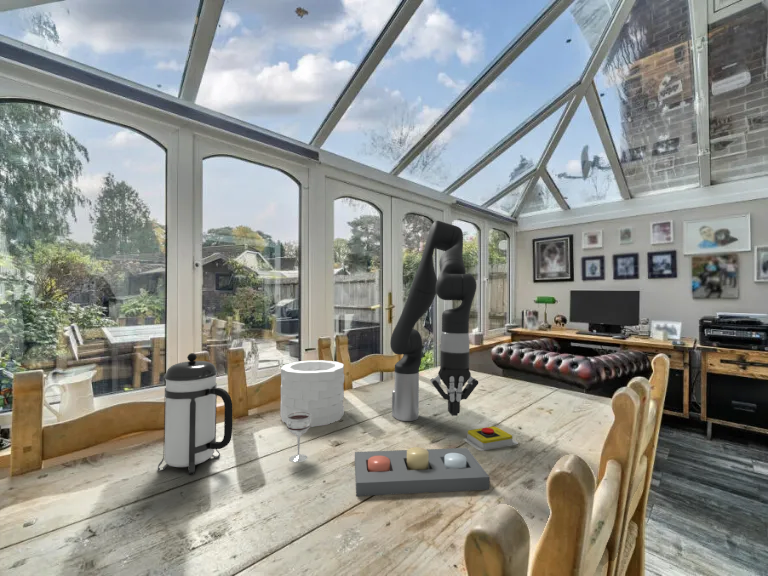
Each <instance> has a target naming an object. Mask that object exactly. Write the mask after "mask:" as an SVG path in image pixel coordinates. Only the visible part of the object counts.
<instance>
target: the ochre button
mask: <svg viewBox="0 0 768 576" xmlns="http://www.w3.org/2000/svg"><path fill="white" fill-rule="evenodd" d="M406 450H407V470H427V469H428V459H429V452H428V451H427V450H426V448H423V447H421V446H420V447H419V446H414V447H409V448H408V449H406Z"/></svg>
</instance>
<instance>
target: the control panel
mask: <svg viewBox="0 0 768 576" xmlns="http://www.w3.org/2000/svg"><path fill="white" fill-rule="evenodd" d="M425 449H426V448H425ZM407 450H408V449H400V450H398V449H397V450H395V449H394V450H375V451H374V450H372V451H371V450H369V451H354V475H355V476H354V477H355V495H356V496H355V497H363V496H383V495H384V496H385V495H403V494H404V495H406V494H425V493H424V492H429V493H444V492H466V491H469V492H470V491H488V490H490V476H489V474H488V473H487V472H486V471H485V470H484V468H483V466H482V465H481V464H480V463H479V462H478V460H477V459H476V458H475V456H474V455H473V454H472V453H471V451H470V449H469V448H467V447H457V448H455V447H453V448H431V449H430V448H427V449H426V450H427V451H428V452H429V459H428V469H427V470H408V469H407ZM448 453H459V454H462V455H464V456H465V457H466V468H451V469H447V468H446V467H445V465H444V457H445V455H446V454H448ZM373 456H385V457H387V458H389V459H390V471H380V472H368V459H369V458H370V457H373Z"/></svg>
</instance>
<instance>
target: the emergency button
mask: <svg viewBox="0 0 768 576" xmlns="http://www.w3.org/2000/svg"><path fill="white" fill-rule="evenodd" d="M464 440H465V441H464ZM463 441H464V442H465V443H467V444H469V445H470V446H471V447H473V448H475V450H478V451H480V452H482V451H488V450H489V451H490V450H494V449H500V448H504V447H510V446H516V445H518V444H519V442H517V441H516V440H514V439H513V435H512V434H510V433H509V432H507V431H505V430H503V429H501V428H499V427H497V426H488V427H480V428H476V429H475V428H474V429H469V430H467V436H466V437H465V438H463Z"/></svg>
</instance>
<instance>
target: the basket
mask: <svg viewBox="0 0 768 576" xmlns="http://www.w3.org/2000/svg"><path fill="white" fill-rule="evenodd" d="M344 365H345V364H344V363H342V362H339V361H334V360H333V361H332V360H324V359H319V360H317V359H315V360H301V361H293V362H290V363H285V364H283V366H281V368H280V379H281V380H280V382H281V383H280V384H281V385H280V408H279V409H280V419H281V418H282V419H281V421H283V422H282V423H284V422H285V423H284V424H287V421H288V418H287V415H289V414H291V413H294V412H308V413H310V414H311V416H310V419H311V425H310V428H312V427H319V426H327V425H330V423H331V424H332V423H335V421H336V422H337V421H340V420H341V419H342V418H343V416H344V414H345V412H344V411H345V408H344V401H343V400H344V399H345V390H344V383H345V373H344V369H345V368H344V367H345V366H344Z"/></svg>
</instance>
